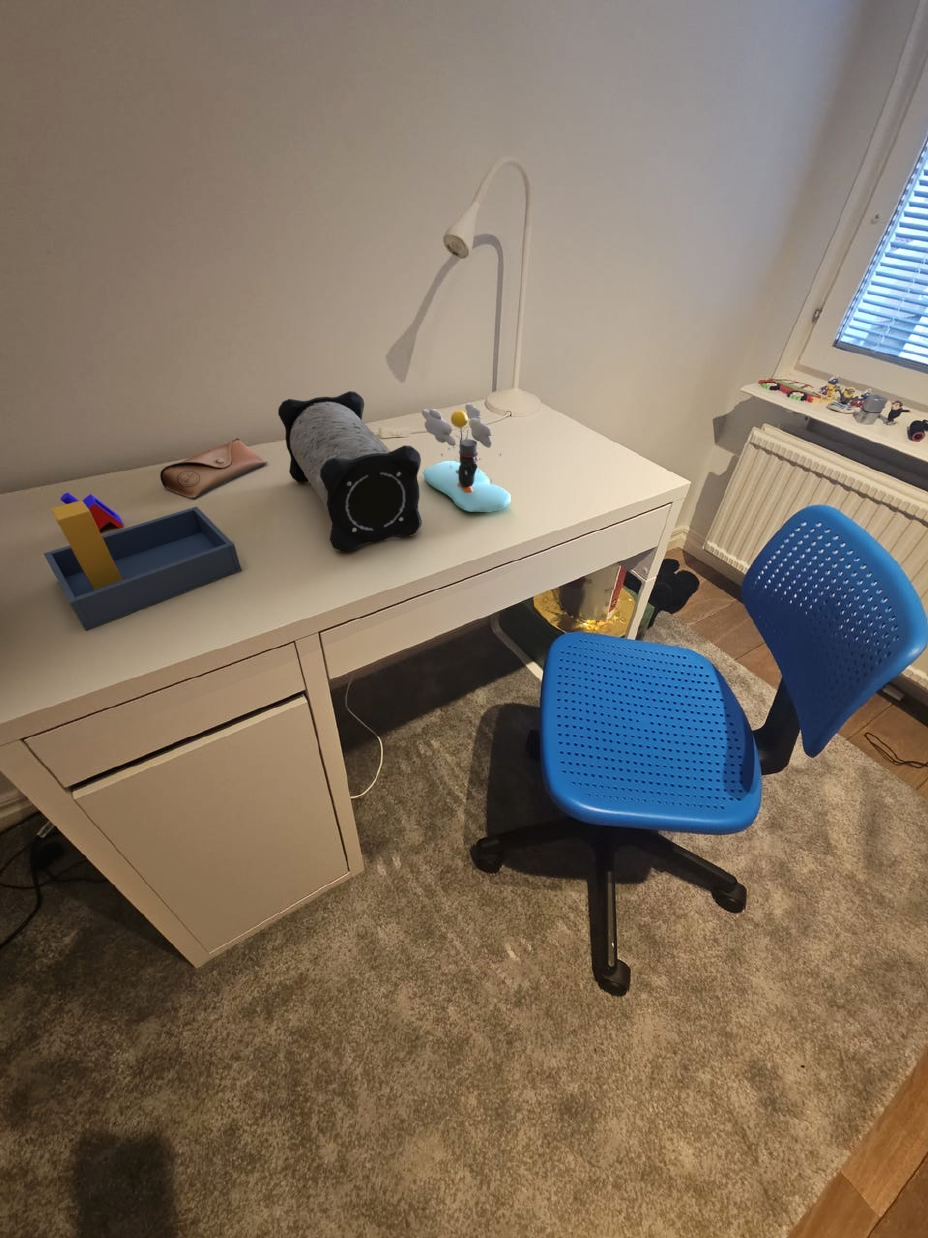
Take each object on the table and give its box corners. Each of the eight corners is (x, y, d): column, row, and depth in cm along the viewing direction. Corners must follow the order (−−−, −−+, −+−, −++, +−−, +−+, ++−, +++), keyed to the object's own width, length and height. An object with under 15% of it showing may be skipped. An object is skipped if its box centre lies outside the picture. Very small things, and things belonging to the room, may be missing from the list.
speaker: (366, 465, 106) (359, 386, 96) (426, 537, 87) (425, 448, 77) (289, 479, 100) (273, 397, 90) (335, 560, 81) (322, 467, 72)
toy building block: (98, 532, 88) (51, 499, 81) (119, 515, 88) (74, 480, 82) (102, 542, 86) (54, 509, 79) (123, 524, 86) (78, 490, 80)
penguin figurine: (519, 509, 95) (529, 424, 85) (467, 524, 90) (471, 436, 80) (462, 464, 108) (465, 386, 98) (414, 475, 103) (412, 394, 93)
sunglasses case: (194, 498, 93) (170, 462, 90) (177, 507, 97) (154, 473, 95) (271, 461, 105) (252, 428, 102) (253, 470, 109) (234, 439, 107)
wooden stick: (98, 598, 72) (57, 519, 64) (91, 585, 74) (50, 508, 66) (126, 588, 74) (89, 510, 66) (118, 576, 76) (81, 499, 68)
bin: (85, 631, 68) (69, 602, 65) (58, 580, 75) (43, 553, 72) (242, 570, 79) (234, 544, 76) (205, 531, 86) (196, 505, 83)
